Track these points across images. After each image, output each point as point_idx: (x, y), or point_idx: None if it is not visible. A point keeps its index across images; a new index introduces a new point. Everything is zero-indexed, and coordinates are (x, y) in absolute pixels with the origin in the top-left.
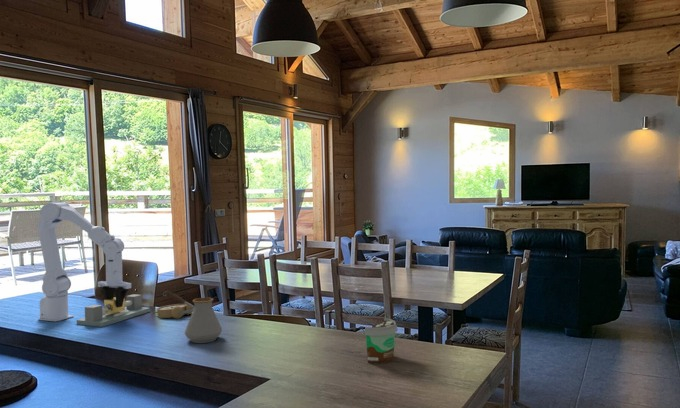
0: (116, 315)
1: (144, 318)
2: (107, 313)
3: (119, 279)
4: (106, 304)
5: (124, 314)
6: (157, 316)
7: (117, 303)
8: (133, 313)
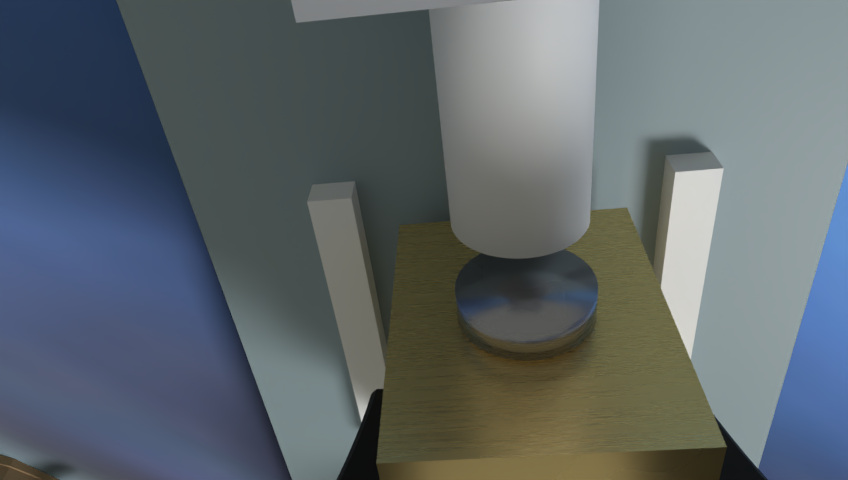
0: (318, 221)
1: (68, 374)
2: None
3: None
4: (607, 348)
5: (305, 331)
6: (11, 464)
7: (357, 454)
8: (272, 418)
